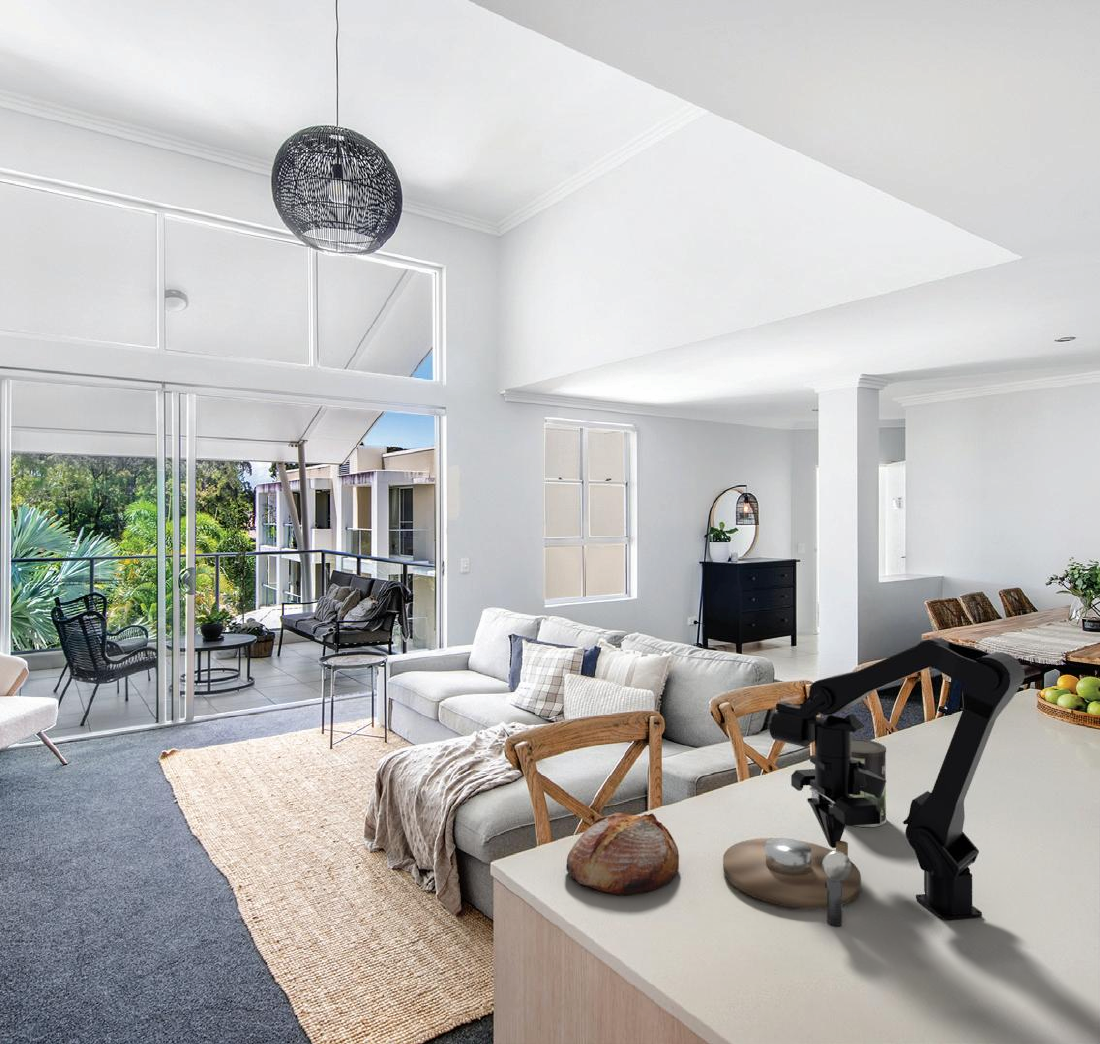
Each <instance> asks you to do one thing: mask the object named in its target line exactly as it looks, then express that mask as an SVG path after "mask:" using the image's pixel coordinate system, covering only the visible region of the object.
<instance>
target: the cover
mask: <svg viewBox="0 0 1100 1044" xmlns="http://www.w3.org/2000/svg"><path fill="white" fill-rule="evenodd" d="M774 838H775V839H771V840H768V841H767V842H766V845H765V863H766V866H767V867H768V868H769V869H770V870H772V871H774V872H776V873H779V874H783V875H788V876H802V875H806V874H808V873H809V872H810V871H811V848H810V847H809V846H808V845H807V844H805V843H803V842H801V841H802V840H799V839H798V840H797V839H795V838H787V837H785V838H784V837H774Z"/></svg>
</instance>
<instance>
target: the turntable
mask: <svg viewBox="0 0 1100 1044" xmlns="http://www.w3.org/2000/svg"><path fill="white" fill-rule="evenodd" d="M775 838H776V837H763V838H761V837H760V838H753V839H747V840H744V841H740V842H736V843H735V844H733V845H730V847H728V848H727V850H726V851H724V854H723V857H722V870H723V873H724V876H725V877H726V879H727V880H728V881H729V882H730V883H731V884H732V885H734V886H735V887H736V888H737V889H739V891H742V892H743V893H746V894H747V895H749V896H752V897H754V898H756V899H759V900H762V901H763V902H764V901H765V902H767V903H771V904H776V905H781V906H785V907H790V908H791V907H792V908H797V909H798V908H799V909H800V908H801V909H825V908H826V909H827V889H826V888H825V883H827V876H826V875H825V873H824V872H823V869H822V862H823V859H824V857H825V856H826V855H827V854H828V853H829V852H831V851H834V850H832V849H830V848H827V847H826V846H825V847H824V846H821V845H819V844H815V843H812V842H808V841H803V840H800V841H801V842H803V843H805V844H807V845H808V846H809V847H810V848H811V871H810V872H809V873H808V874H806V875H802V876H788V875H783V874H779V873H776V872H774V871H772V870H770V869H769V868H768V867H767V866H766V863H765V845H766V842H767V841H768V840H771V839H775ZM848 845H849V843H848V842H847V841H844V840H840V841H836V848H835V851H841V852H843V853H844V854H845V855H846V856H847V857H848V858H849V856H848V855H849V849H848V848H849V846H848ZM850 862H851V871H850V873H849V875H848V876H847V877H846V878H845V879H844V880H842V905H844V904H848V903H849V902H852V901H853V900H854V899H855V898H857V897H858V895H860V893H861V890H862V889H861V888H862V887H861V886H862V876H861V872H860V870H859V868H858V867H857V866H856V864H855V863H853V861H851V860H850Z"/></svg>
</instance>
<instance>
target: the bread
mask: <svg viewBox="0 0 1100 1044" xmlns="http://www.w3.org/2000/svg"><path fill="white" fill-rule="evenodd" d="M679 863H680V854H679V849H678V846H677V843H676V841H675V840H674V837H673V836H672V834H671V832H670V831H669V829H668V828H666V826H664V824H663V823H662V822H661V821H659V820H657V816H656V815H655V814H654V813H650V814H646V813H645V814H642V815H634V814H633V815H632V814H629V813H622V812H615V813H613V814H610V815H605V816H603V817H599V818H597V819H596V820H595V821H594V822H593V823H592V825H590V826H589V827H588V828H587V829H586V830H584V832H583V833H582V834H581V836H580V837H579V838H578V839H577V840H576V841H575V843H574V844H573V846H572V847H571V849H570V851H569V852H568V854H567V857H566V868H565V870H566V871H567V872H568V874H569V878H570V879H575V881H576V882H577V883H578V884H579V885H581V886H582V885H583V886H585V887H589V888H592V889H595V890H598V891H602V892H605V893H609V894H614V895H617V896H618V895H621V896H628V895H632V894H641V893H648V892H650V891H653V890H655V889H659V888H661V887H664V886H666V885H667V884H668V883H669V882H670V881H671V880H672V879H673V878H674V877H675V876H676V875H677V873H678V871H679V869H680V868H679V867H680V864H679Z"/></svg>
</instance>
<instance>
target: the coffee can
mask: <svg viewBox="0 0 1100 1044" xmlns="http://www.w3.org/2000/svg"><path fill="white" fill-rule="evenodd" d="M886 753H887V748H886V746H885V745H883V744H882V743H880V742H876V741H873V740H869V739H868V740H867V739H862V738H857V737H856V738H854V737H853V738H852V737H851V760H852V759H855V760H858V761H860V762H862V763H864V764H865V767H866V770H868V771H870V772H872V773H874V774H876V775H878V776H880V777H881V778H883V779H885V780H886V778H887V775H886V772H887V771H886V768H887V767H886V762H887V761H886V756H887V755H886ZM886 781H887V780H886ZM886 785H887V784H885V787H884V790H883V793H882V796H881V799H880V798H876V797H875V796H874V795H871V794H868V793H865V792H862V791H860V795H853V794H850V796H852V797H854V798H859V797H864V798H866V799H867V800H869V801H871V802H872V803H874V804H875V805H876V806H877V807H878V808H879V809H880V810H881V823H880V824H869V825H854V826H853V827H860V828H878V827H881V826H884V825H885V824H886V823H887V801H886V800H887V799H886V797H887V796H886V795H887V793H886V792H887V791H886Z"/></svg>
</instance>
